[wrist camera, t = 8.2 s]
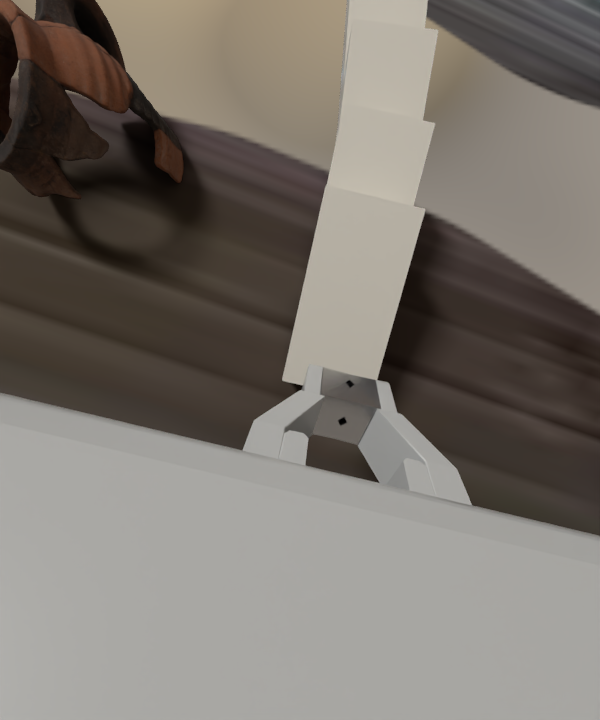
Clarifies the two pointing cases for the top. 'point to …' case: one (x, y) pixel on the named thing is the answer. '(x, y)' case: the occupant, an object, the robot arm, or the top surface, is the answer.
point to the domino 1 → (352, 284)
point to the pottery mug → (50, 101)
